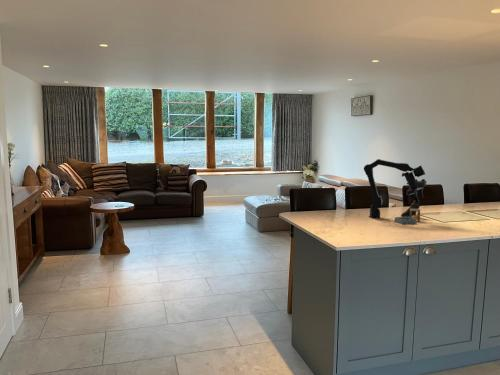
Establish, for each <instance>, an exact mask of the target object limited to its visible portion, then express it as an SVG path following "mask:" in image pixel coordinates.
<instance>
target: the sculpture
mask: <svg viewBox="0 0 500 375" xmlns="http://www.w3.org/2000/svg"><path fill="white" fill-rule="evenodd" d="M420 203H421V201H420V200H419V202H416V201H415V200H414V199H413V202H412V203H411V204H410V206H409V207H408V209H406V210H404V211H403V212H402V213H401V215H400V217H410V209H420V207H421V204H420ZM417 213H418V211H412V216H413V215H416V216H418V214H417Z"/></svg>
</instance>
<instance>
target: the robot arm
mask: <svg viewBox="0 0 500 375" xmlns="http://www.w3.org/2000/svg"><path fill="white" fill-rule="evenodd" d="M377 166H383V167H388V168H393V169H397V170H399V171H401V172H402V174H401V177H404V179H405V180H406V182H407V183H406V185H408V186H409V188H408V189H407V190H406V195H407V196H408V197H410V198H412V200H413V201H414V200H415V201H416V202H419V201H420V200H419V198H420V199H421V200H423V199H424V192H423V190H424V187H426V186H427V180H426V179H425V178H422V179H421V180H419V179H417V178H420V177H422V176H425V175H426V173H425V170H424V168H423V167H422V165H419V166H417V167H415V168H413V167H412V166H410V164H409V163H406V162H393V161H388V160H384V159H379V158H378V159H376V160H375V161H373V162H372V163H369V164H368V163H367V164H365V166H364V167H363V171H364V173H365V175H366V177H367V179H368V183H369V186H370V190H371V194H372V204H371V205H370V208H369V215H368V217H369V218H371V219H381V210H380V208H381V207H382V205H383V202H384V200H383V199H382V195H379V192H378V188H377V184H376V181H375V177H374V168H376V167H377ZM416 177H417V178H416ZM418 196H419V198H418ZM419 203H420V202H419Z"/></svg>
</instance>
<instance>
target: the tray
mask: <svg viewBox="0 0 500 375" xmlns="http://www.w3.org/2000/svg"><path fill="white" fill-rule="evenodd" d="M394 222H395V223H397V224H400V225H416V224H417V220H416V219H414V218H411V217H401V216H395V217H394Z"/></svg>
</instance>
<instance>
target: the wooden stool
mask: <svg viewBox="0 0 500 375" xmlns="http://www.w3.org/2000/svg"><path fill="white" fill-rule="evenodd" d="M412 211H417V215H418V216H417V217H418V219H417V220H416V221H417V222H418V223H419V222H421V208H419V209H410V217H411V218H412Z"/></svg>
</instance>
